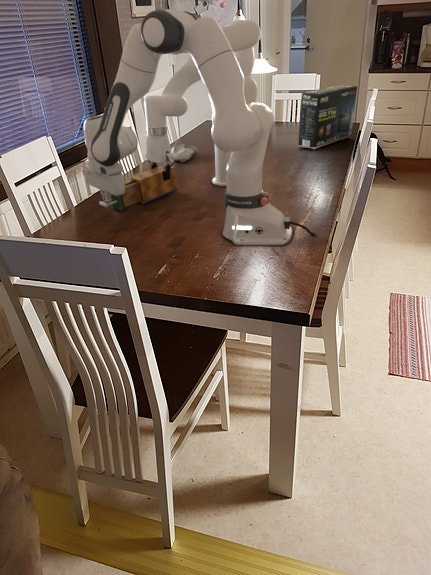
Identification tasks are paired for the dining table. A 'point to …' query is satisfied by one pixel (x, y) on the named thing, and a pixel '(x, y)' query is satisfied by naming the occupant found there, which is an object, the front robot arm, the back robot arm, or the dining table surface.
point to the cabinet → (155, 183)
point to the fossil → (182, 152)
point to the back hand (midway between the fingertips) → (161, 177)
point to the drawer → (126, 196)
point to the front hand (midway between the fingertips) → (107, 201)
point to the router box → (326, 115)
